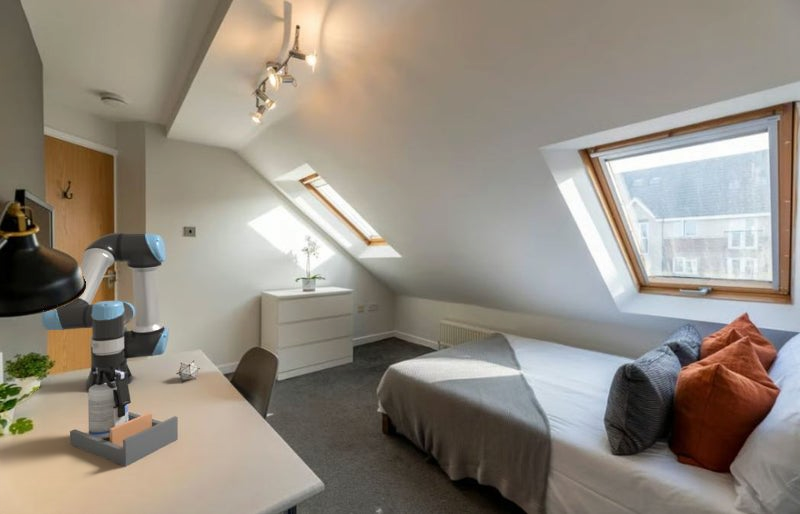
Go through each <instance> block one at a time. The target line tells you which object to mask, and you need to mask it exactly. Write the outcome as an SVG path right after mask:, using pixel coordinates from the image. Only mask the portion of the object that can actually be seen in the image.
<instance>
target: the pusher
mask: <svg viewBox="0 0 800 514" xmlns="http://www.w3.org/2000/svg"><path fill="white" fill-rule="evenodd" d="M152 419H153V413H152V412H146V413H145V414H142V415H141V416H140V417H137V418H135V419H132V420H130V421H128V422H125V423H123V424H120V425H118V426H116V427H113V428H111V429H110V437H109V442H111V443H114V444H117V445H120V446H122V447H123V440H124V439H126V438H128V437H130V436H133V435H135V434H137V433H139V432H141V431H143V430H146V429H148V428H150V427H152Z"/></svg>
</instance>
